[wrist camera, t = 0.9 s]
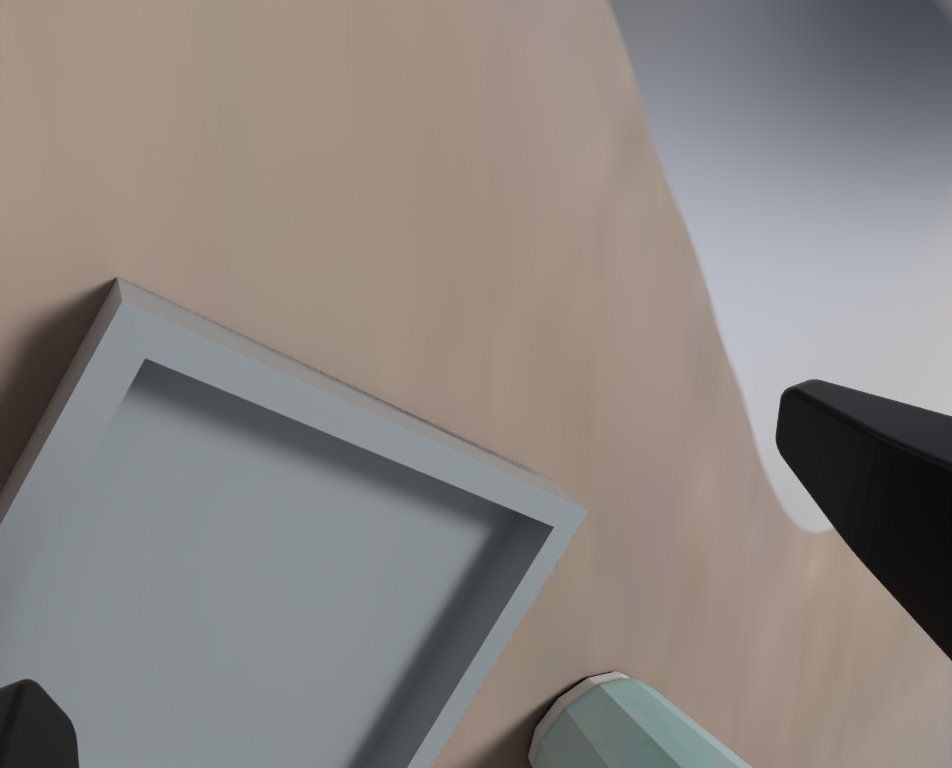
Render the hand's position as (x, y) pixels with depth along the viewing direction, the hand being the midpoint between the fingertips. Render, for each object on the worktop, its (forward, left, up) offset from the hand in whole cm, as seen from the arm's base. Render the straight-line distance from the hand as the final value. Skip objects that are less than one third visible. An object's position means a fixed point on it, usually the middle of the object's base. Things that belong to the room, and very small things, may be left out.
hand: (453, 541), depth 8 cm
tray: (-9, -5, -14) cm, 17 cm away
